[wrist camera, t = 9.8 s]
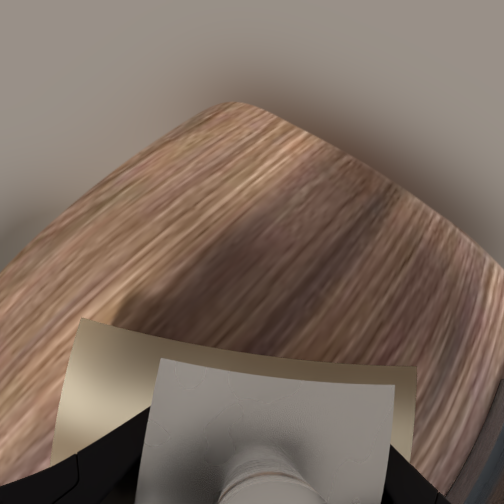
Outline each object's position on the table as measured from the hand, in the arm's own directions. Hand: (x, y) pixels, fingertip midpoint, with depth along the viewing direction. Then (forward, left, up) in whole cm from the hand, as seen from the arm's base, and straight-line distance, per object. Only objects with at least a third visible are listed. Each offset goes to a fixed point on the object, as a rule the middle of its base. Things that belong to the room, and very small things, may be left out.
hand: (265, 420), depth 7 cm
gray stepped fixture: (-6, -18, -7) cm, 21 cm away
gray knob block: (-1, 0, -3) cm, 3 cm away
